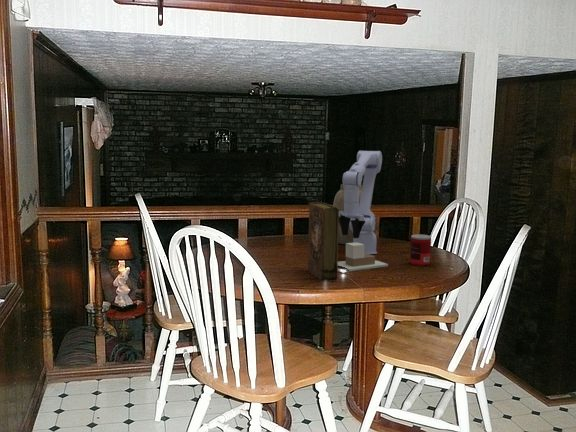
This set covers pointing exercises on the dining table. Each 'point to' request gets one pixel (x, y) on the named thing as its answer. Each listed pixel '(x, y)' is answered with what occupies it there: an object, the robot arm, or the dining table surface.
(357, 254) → the cream cube
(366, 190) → the robot arm
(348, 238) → the vase
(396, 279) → the dining table surface
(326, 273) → the book
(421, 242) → the canned food
